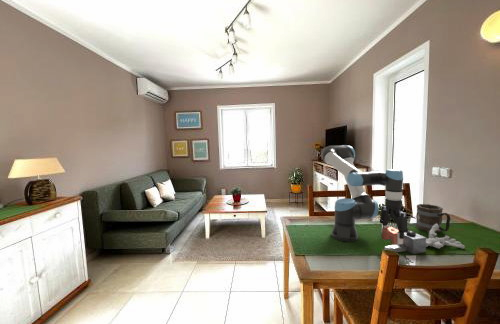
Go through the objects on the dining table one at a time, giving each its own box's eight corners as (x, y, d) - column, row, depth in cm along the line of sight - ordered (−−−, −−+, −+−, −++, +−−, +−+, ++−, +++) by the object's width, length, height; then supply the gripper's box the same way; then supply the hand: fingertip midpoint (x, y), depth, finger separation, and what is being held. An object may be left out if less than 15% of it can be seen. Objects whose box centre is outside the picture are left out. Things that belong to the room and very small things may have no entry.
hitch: (408, 243, 126) (408, 227, 125) (425, 252, 116) (426, 234, 115) (379, 247, 122) (379, 231, 121) (394, 256, 112) (395, 239, 111)
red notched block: (391, 237, 121) (391, 226, 121) (403, 243, 113) (404, 232, 113) (381, 238, 120) (382, 227, 120) (394, 244, 112) (394, 233, 112)
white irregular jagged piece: (409, 222, 132) (441, 223, 133) (407, 235, 134) (439, 235, 135) (436, 239, 114) (473, 239, 115) (434, 253, 115) (470, 254, 116)
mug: (410, 225, 152) (411, 204, 150) (427, 224, 154) (428, 203, 153) (439, 237, 132) (440, 213, 131) (457, 235, 135) (459, 211, 133)
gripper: (418, 203, 106) (416, 248, 107) (383, 194, 126) (383, 232, 128) (405, 204, 104) (404, 250, 106) (372, 195, 124) (371, 233, 126)
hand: (392, 240), depth 117 cm, fingers closed on red notched block, 8 cm apart
